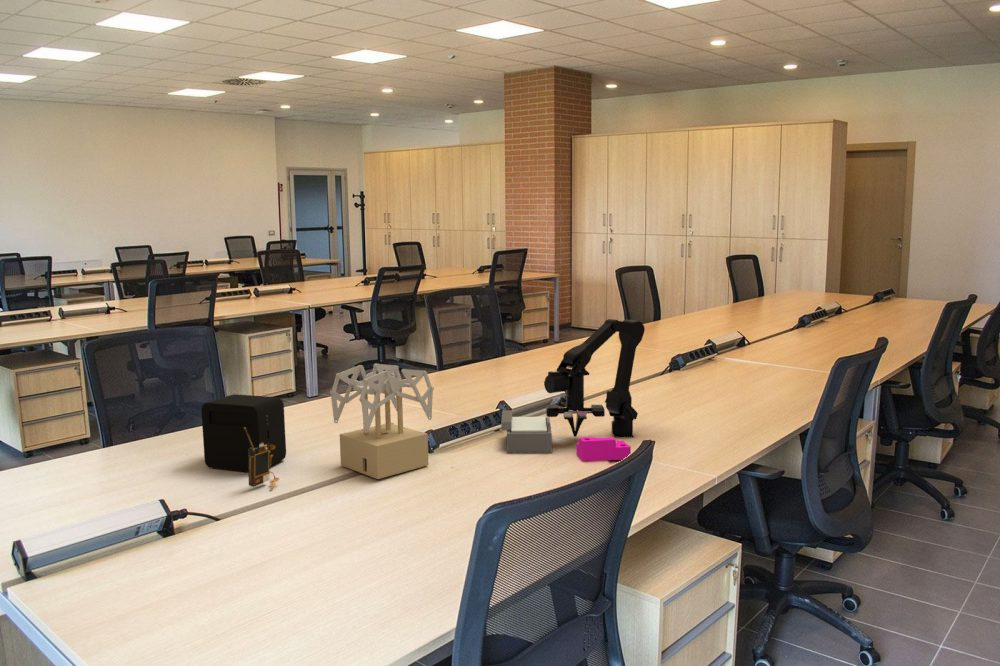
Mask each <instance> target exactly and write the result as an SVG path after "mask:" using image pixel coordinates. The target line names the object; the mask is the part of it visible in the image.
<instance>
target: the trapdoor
mask: <svg viewBox="0 0 1000 666" xmlns="http://www.w3.org/2000/svg"><path fill="white" fill-rule="evenodd" d="M501 414H502V415H501V422H500V424H501V425H500V428H501V430H500V431H504V432H505V431H506V432H507V431H511V432H547V426H546V418H545V417H546V416H513V410H510V409H509V410H504V409H503V410H502V412H501Z"/></svg>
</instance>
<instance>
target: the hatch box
mask: <svg viewBox="0 0 1000 666" xmlns="http://www.w3.org/2000/svg"><path fill="white" fill-rule="evenodd" d="M544 417H545V418H546V426H547V432H511V431H506V453H507V454H553V453H552V452H553V451H552V449H553V447H552V441H553V440H552V439H553V438H552V437H553V435H552V433H553V432H552V426H551V420H550V419H551V417H547V416H544Z"/></svg>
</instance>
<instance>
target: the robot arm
mask: <svg viewBox="0 0 1000 666" xmlns="http://www.w3.org/2000/svg"><path fill="white" fill-rule="evenodd" d="M645 331H646V327H645V325H644V323H642V321H640V320H635V319H634V320H632V319H624V320H622V321H620V320H618V319H612V318H608V319H606V320H604V322H603V324H602V325H600V327H598V329H596V330H595V331H594V332H593V333H592V334H591V335H590V336H588V337H587V339H586V340H584V342H582V343H580V344H579V345H576V346H573V347H571V348H570V349H568V350H567V351H565V352H564V354H563V358H562V360H561V361H560V363H559V365H558V367H557V369H556V371H548V372H547V376H546V377H545V379H544V381H543V385H544V389H545V391H546V392H547V393H548V394H554V393H560V403H561V404H565V407H559V405H558V404H547V405H546V407H545V413H546V414H545V415H546V416H545V417H549V418H557V417H558V416H559V415H560V414H563V415H562V416H563V419H564V420H567V422H568V424H569V426H570V428H571V431H572V435H573V438H575V437H576V438H577V437H578V433H579V431H580V428H581V426H582V423H583V422H584V420H587V418H588V417H587V414H592V415H593V416H594V417H598V418H599V417H600V418H601V417H602V418H603V417H605V416H606V413H605V412H606V411H605V409H606V410H607V412H608V414H609V416H610V417H612V419H613V420H612V421H611V434H612V435H613V438H634V430H633V429H634V426H633V425H634V420H637V417H638V412H637V410H636V409H635V408H634V407H633V406H632V403H633V402H632V395H631V392H630V385H631V378H632V373H633V368H634V361H635V355H636V350H637V347H638V346H639V344H641V342H642V340H643V337H644V335H645ZM617 332H618V338H619V343H620V352H619V356H618V364H617V370H616V374H615V381H614V387H613V388H612V389H611V390H607V392H606V398H605V400H604V403H605V407H604V405H602V404H591V405H590V407H585V376H589V375H590V372H589V371H587V370H586V367H587V365H588V364H589V363H590V362H591V360H592V356H593V354H594V353H595V352H597V351H598V349H600V347H602V346H603V345H604V344H605V343H606V342H608V341H609V339H610V338H612V336H613V335H615V334H616V333H617ZM561 392H562V393H561ZM563 392H565V393H563ZM573 414H576V419H575V420H574V415H573Z"/></svg>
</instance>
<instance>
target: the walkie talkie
mask: <svg viewBox="0 0 1000 666" xmlns="http://www.w3.org/2000/svg"><path fill="white" fill-rule="evenodd" d="M244 429H245V430H246V427H244ZM246 433H247V431H246ZM247 436H248V438H249V441H250V444H251V446H252V448H251V447H250V448H249V450H248V456H249V472H248V486H250V487H253V488H254V487H256V486H260V485H262V484H264V483H266V482H268V481H269V480H270V474H272V477H273V479H272V480H270V481H269V483H270V484H271V487H270V489H271V488H274V487H275V486H276V485H275V484H276V482H277V483H278V481H280V477H276V475H274V472H273V471H270V468H271V466H272V465H271V459H272V456H273V455H270V449H272V450H273V449H275V446H274V445H267V444H264V443H261V444H259V446H258V447H256V446H255V447H254V446H253V444H252V441H251V439H250V437H249V434H248V433H247Z"/></svg>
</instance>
